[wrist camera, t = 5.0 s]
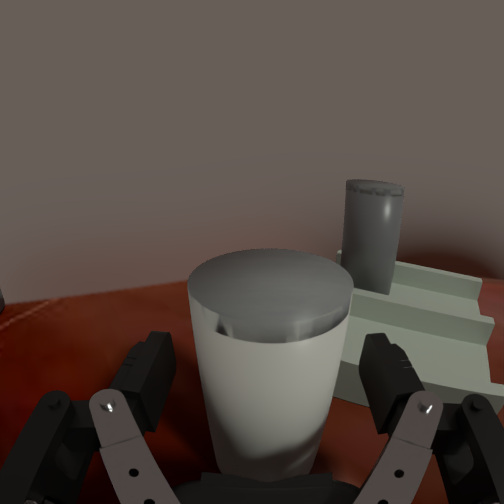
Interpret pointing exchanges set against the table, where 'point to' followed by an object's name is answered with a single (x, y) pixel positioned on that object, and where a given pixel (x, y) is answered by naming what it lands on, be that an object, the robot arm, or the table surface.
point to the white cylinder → (268, 355)
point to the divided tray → (424, 334)
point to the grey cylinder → (371, 233)
